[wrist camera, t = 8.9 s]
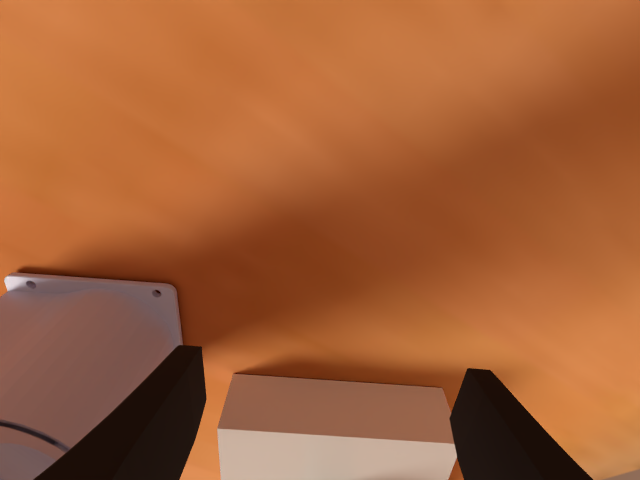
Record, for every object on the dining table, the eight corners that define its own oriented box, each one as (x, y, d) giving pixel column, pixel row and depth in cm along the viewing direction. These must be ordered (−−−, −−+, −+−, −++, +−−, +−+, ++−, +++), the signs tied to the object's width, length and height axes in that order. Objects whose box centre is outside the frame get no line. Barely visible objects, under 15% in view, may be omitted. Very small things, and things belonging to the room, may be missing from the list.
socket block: (237, 495, 31) (226, 553, 27) (233, 373, 24) (217, 428, 21) (404, 505, 31) (414, 564, 27) (442, 387, 25) (462, 444, 21)
